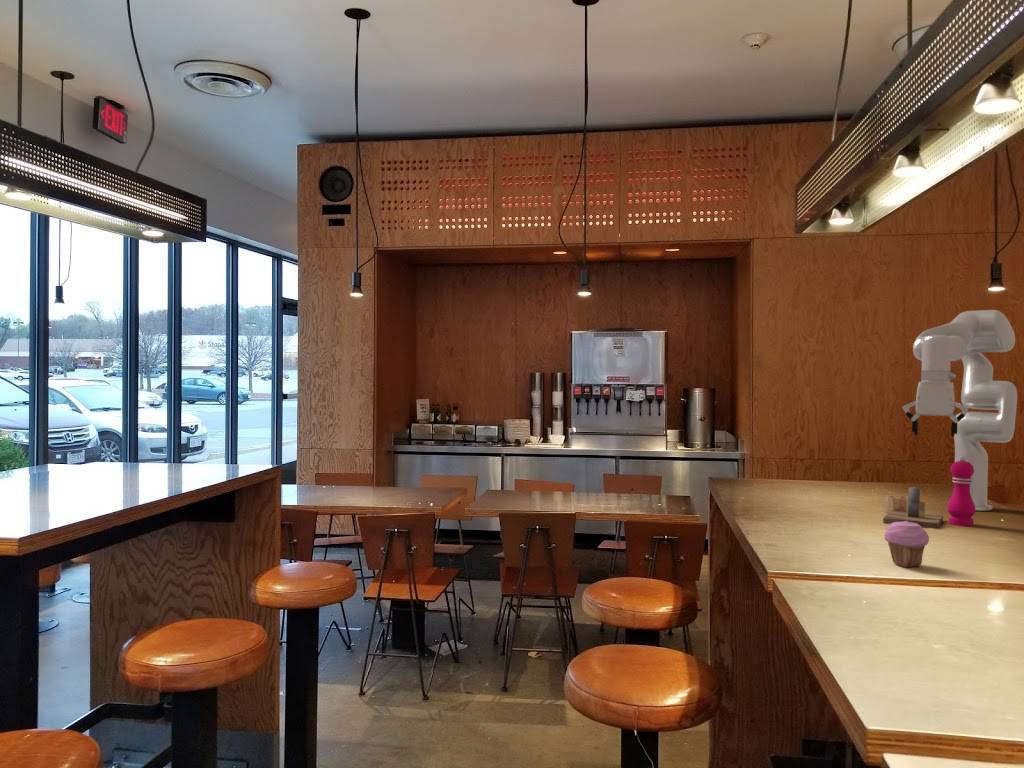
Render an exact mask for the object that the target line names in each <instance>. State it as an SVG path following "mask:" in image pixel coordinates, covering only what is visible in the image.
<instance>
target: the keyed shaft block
mask: <svg viewBox="0 0 1024 768" xmlns="http://www.w3.org/2000/svg"><path fill="white" fill-rule="evenodd" d="M920 493H921V488H920V487H915V486H909V487H908V493H907V494H908V496H907V497H908V512H901V511H891V512H890V513H886V514H885V516H884V517H883V518H882V519H883V520H882V522H883V524H888V525H890V524H891V523H894V522H904V521H908V522H913V523H916V524H919V525H920V526H921V527H922V528H930V529H938V528H939V527H940V526H941V524H942V523H943V521H944V515H941V514H931V513H926V501H920V500H921V499H920V497H921V494H920Z"/></svg>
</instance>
